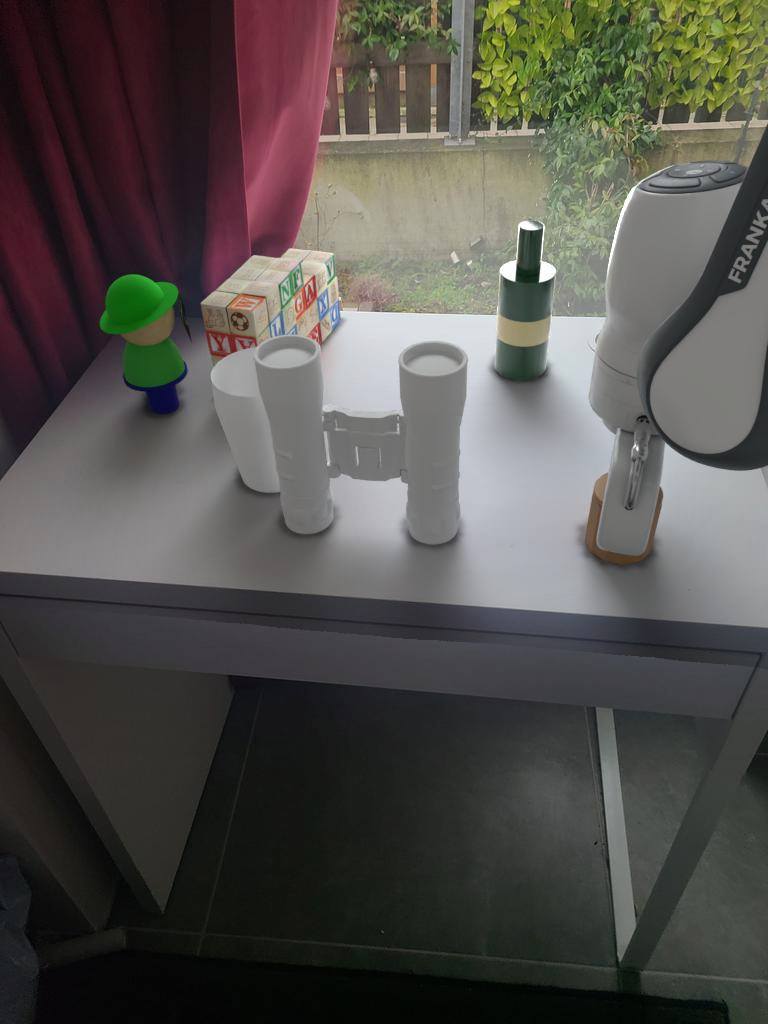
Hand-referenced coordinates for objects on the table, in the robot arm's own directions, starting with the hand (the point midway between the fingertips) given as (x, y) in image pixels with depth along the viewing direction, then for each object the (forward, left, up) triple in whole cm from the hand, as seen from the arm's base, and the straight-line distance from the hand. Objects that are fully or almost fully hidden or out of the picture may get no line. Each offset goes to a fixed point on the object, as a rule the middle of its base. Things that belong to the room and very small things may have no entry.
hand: (622, 519), depth 71 cm
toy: (+52, -10, -3) cm, 53 cm away
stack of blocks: (+42, -22, -3) cm, 47 cm away
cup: (+34, -1, -3) cm, 34 cm away
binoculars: (+22, +4, -3) cm, 23 cm away
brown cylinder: (0, 0, -3) cm, 3 cm away
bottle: (+14, -27, -3) cm, 31 cm away
